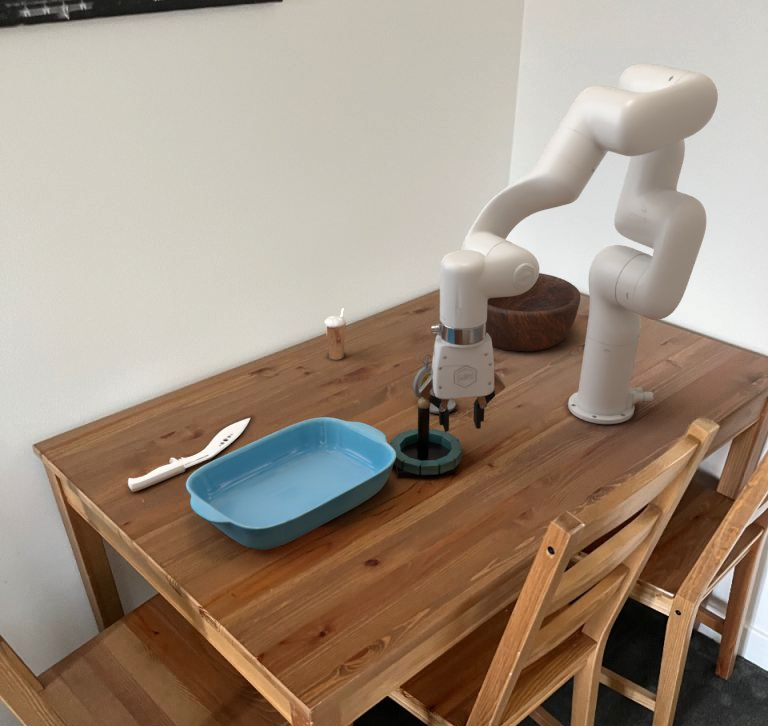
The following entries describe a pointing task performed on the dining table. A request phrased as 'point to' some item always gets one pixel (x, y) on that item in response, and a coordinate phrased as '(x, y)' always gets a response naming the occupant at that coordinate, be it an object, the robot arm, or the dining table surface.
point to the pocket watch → (421, 379)
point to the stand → (424, 443)
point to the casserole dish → (291, 480)
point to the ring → (429, 465)
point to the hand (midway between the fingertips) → (461, 425)
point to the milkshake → (335, 336)
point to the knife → (189, 458)
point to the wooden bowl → (533, 315)
